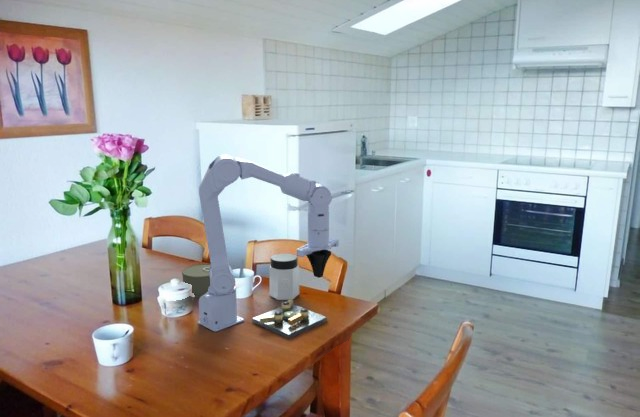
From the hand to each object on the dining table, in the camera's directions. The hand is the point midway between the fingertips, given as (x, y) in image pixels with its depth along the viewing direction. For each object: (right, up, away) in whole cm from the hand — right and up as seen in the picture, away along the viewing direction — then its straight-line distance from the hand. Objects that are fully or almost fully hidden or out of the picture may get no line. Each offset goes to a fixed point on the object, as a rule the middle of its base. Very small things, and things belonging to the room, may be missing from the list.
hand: (318, 276), depth 140 cm
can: (-36, -7, +18) cm, 41 cm away
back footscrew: (-8, -9, +1) cm, 12 cm away
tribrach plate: (-8, -12, -4) cm, 14 cm away
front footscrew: (-5, -11, -7) cm, 14 cm away
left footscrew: (-12, -11, -8) cm, 18 cm away
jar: (-10, -8, +14) cm, 19 cm away
